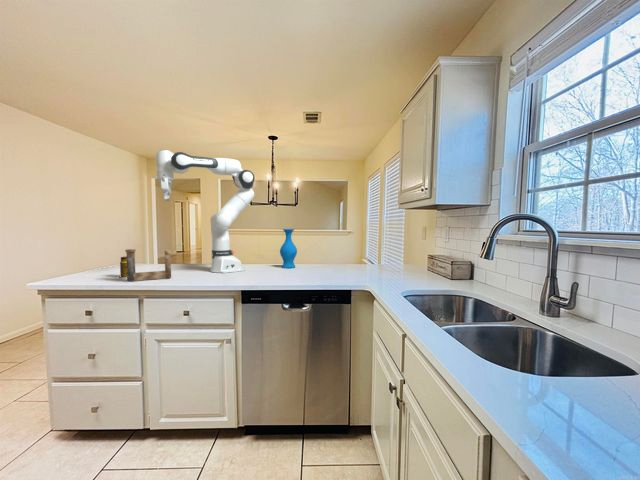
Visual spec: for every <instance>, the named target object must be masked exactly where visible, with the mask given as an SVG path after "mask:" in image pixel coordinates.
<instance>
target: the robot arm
mask: <svg viewBox="0 0 640 480" xmlns="http://www.w3.org/2000/svg"><path fill="white" fill-rule="evenodd" d="M155 165H156V180H157V181H158V182H159V183H160V189H161V192H162V193H163V197H164V200H165V201H166V202H167V203H168V202H170V196H171V195H172V184H173V183H174V181H175V180H174V173H176V174H181V175H182V174H186V173H187V172H188V171H189V169H190V168H200V169H202V168H203V169H207V170H209V171H211V173H213V174H214V175H218V176H231V177H232V180H233V182H234V185H235V186H236V187H237V188H238V191H237V192H236V193H235V194H234V195H233V196H232V197H230V198H229V200H227V202H226V203H225V204H224V206H223V207H222V208H221V209H220V210H219V211H217V212H215V213H214V214H212V216H211V217H210V231H211V238H212V239H211V240H212V241H211V246H212V250H211V266H210V270H209V271H210V272H211V273H221V274H226V273H227V274H228V273H235V272H243V271H244V272H245V271H246V268H245V267H244V266H243V265H242V261H241V260H240V259H239V258H238V257H236V256H234V254H235V252H236V251H235V250H231V246H230V245H231V243H230V242H231V241H230V240H231V239H230V233H229V227H231V226H232V224H233V223H234V221H235V220H237V218H238V216H239V215H240V214H241V213H242V212H243V211H244V210H245V209H246V208H247V207H248V206H249V204H250V203H251V202H252V201H253V199H254V198H255V191H254V190H253V189H252V188H253V187H254V182H255V174H254V172H253V171H251V170H249V169H243V168H242V164H241V162H240V160H238V159H234V158H231V157H230V158H228V157H206V156H205V157H204V156H198V155H197V156H194V155H191V154H187V153H186V152H183V151H176V152H175V153H174V152H172V151H170V150H169V149H162V150H159V151H157V152H156V154H155Z"/></svg>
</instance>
